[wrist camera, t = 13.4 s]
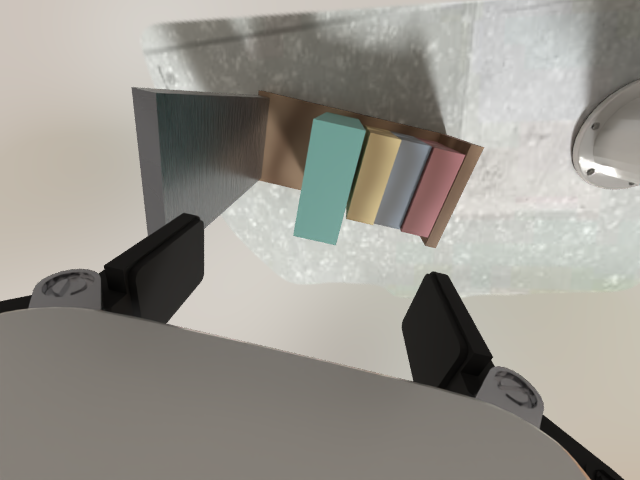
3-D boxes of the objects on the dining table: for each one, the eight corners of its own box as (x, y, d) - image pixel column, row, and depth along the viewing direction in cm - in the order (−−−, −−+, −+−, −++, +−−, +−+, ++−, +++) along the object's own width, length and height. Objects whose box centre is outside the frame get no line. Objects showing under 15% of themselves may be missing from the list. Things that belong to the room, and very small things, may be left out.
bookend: (269, 97, 32) (155, 92, 13) (261, 178, 37) (168, 260, 18) (260, 95, 32) (131, 87, 13) (252, 176, 37) (150, 256, 18)
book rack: (446, 134, 34) (484, 147, 25) (414, 213, 39) (435, 248, 30) (262, 90, 34) (229, 86, 24) (254, 175, 39) (225, 199, 29)
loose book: (358, 119, 33) (365, 130, 20) (339, 195, 37) (335, 245, 25) (326, 111, 33) (313, 118, 20) (311, 189, 37) (293, 235, 25)
